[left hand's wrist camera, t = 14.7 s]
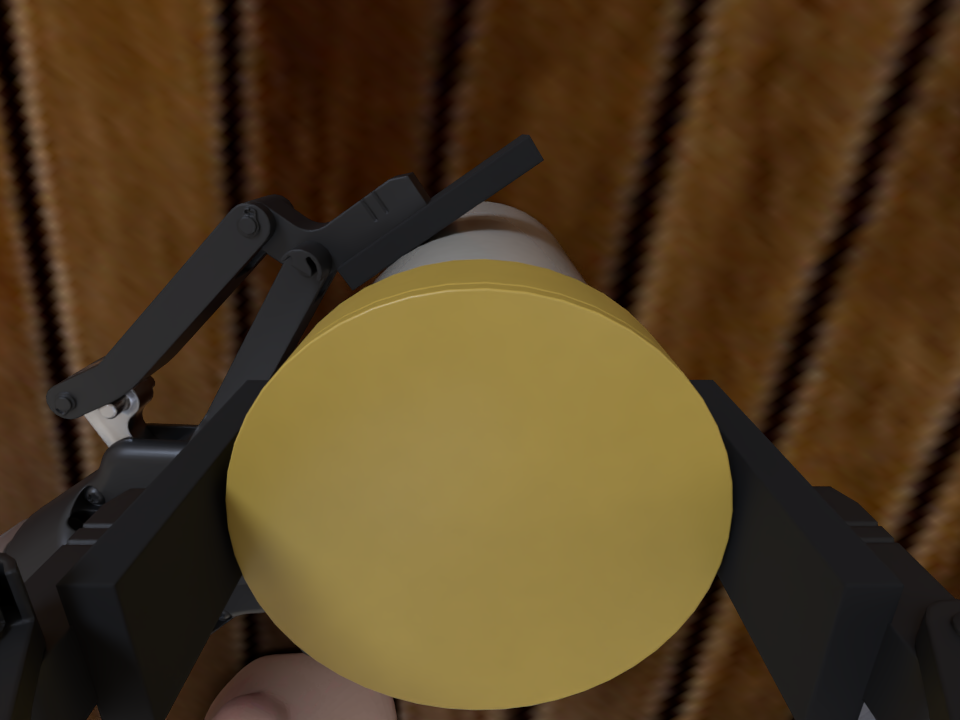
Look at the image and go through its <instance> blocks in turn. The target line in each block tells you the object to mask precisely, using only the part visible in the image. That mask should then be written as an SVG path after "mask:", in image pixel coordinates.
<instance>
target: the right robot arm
mask: <svg viewBox="0 0 960 720" xmlns="http://www.w3.org/2000/svg"><path fill="white" fill-rule="evenodd" d="M543 160H544V159H543V158H542V156H541V154H540V153H539V151H538V149H537V148H536V146H535V144H534V142H533V141H532V139H531V137H530V136H529V135H521V136H519V137H518V138H517V139H515V140H514V141H512V142H511V143H509V144H508V145H506V146H505V147H504V148H502V149H501V150H499V151H498V152H496V153H495V154H494V155H492V156H491V157H489V158H488V159H486V160H485V161H484V162H482V163H481V164H479V165H478V166H476V167H475V168H474V169H472V170H471V171H469V172H468V173H466V174H465V175H464V176H462V177H461V178H459V179H458V180H456V181H455V182H454V183H452V184H451V185H449V186H448V187H446V188H445V189H444V190H442V191H441V192H439V193H438V194H436V195H435V196H434V197H432V198H430V197H429V195H428V194H427V192H426V191H425V189H424V188H423V186H422V185H421V183H420V182H419V180H418V179H417V177H416V176H415V175H414V173H413V172H412V173H407V174H402V175H398V176H395V177H393V178H391V179H389V180H388V181H386V182H385V183H384V184H382V185H381V186H379V187H378V188H377V189H375V190H374V191H373V192H371V193H370V194H368V195H367V196H366V197H364V198H363V199H361V200H360V201H359V202H357V203H356V204H354V205H353V206H352V207H350V208H349V209H348V210H346V211H345V212H343V213H342V214H341V215H339V216H338V217H336V218H335V219H334V220H332V221H331V222H327V223H318V222H314V221H312V220H310V219H308V218H306V217H305V216H303V215H302V214H300V213H299V212H298V211H296V210H295V209H294V207H293V205H292V204H291V203H290V201H289V200H287V199H286V198H284V197H283V196H280V195H275V194H274V195H268V196H265V197H261V198H258V199H255V200H251V201H248V202H245V203H242V204H239V205H237V206H236V207H234V208H233V209H232V210H231V211H230V212H229V213H228V214H227V215H226V217H225V218H224V219H223V220H222V221H221V222H220V224H219V225H218V226H217V227H216V228H215V229H214V231H213V232H212V233H211V234H210V235H209V236H208V238H207V239H206V240H205V241H204V242H203V243H202V245H201V246H200V247H199V248H198V249H197V250H196V252H195V253H194V254H193V255H192V256H191V257H190V258H189V260H188V261H187V262H186V263H185V264H184V265H183V267H182V268H181V269H180V270H179V271H178V272H177V274H176V275H175V276H174V277H173V278H172V279H171V281H170V282H169V283H168V284H167V285H166V286H165V288H164V289H163V290H162V291H161V292H160V293H159V295H158V296H157V297H156V298H155V299H154V300H153V302H152V303H151V304H150V305H149V306H148V307H147V309H146V310H145V311H144V312H143V313H142V314H141V316H140V317H139V318H138V319H137V320H136V321H135V323H134V324H133V325H132V326H131V327H130V328H129V330H128V331H127V332H126V333H125V334H124V335H123V337H122V338H121V339H120V340H119V341H118V342H117V344H116V345H115V346H114V347H113V348H112V349H111V350H110V352H109V353H108V354H107V355H106V356H104V357H102V358H100V359H98V360H97V361H95V362H93V363H92V364H90V365H88V366H87V367H85V368H83V369H82V370H80V371H78V372H77V373H75V374H73V375H72V376H70V377H69V378H67V379H65V380H63V381H62V382H60V383H58V384H57V385H55V386H53V387H52V388H51V389H50V390H48V393H47V395H46V399H47V404H48V405H49V407H50V409H51V410H52V411H53V412H54V413H55V414H56V415H58V416H60V417H63V418H67V419H74V418H78V417H81V416H83V415H84V416H85V417H86V419H87V420H88V421H89V423H90V424H91V425H92V426H93V428H94V429H95V430H96V432H97V433H98V434H99V435H100V437H101V438H102V439H103V441H104V442H105V443H106V444H107V446H108V447H109V448H108V449H107V450H106V452H105V453H104V455H103V458H102V461H101V465H100V467H99V469H98V470H96V471H95V472H93V473H92V474H90V475H89V476H88V477H86V478H85V479H83V480H82V481H80V482H79V483H77V484H76V485H74V486H73V487H71V488H70V489H68V490H67V491H65V492H64V493H62V494H61V495H60V496H58V497H57V498H55V499H54V500H52V501H51V502H49V503H48V504H46V505H45V506H43V507H42V508H40V509H39V510H38V511H36V512H35V513H34V514H32V515H31V516H30V517H29V518H28V519H26V520H23V521H21V522H20V523H18V524H17V525H15V526H14V527H12V528H11V529H9V530H8V531H7V532H5V533H4V534H2V535H1V536H0V553H6V554H8V555H9V556H11V557H13V558H14V559H15V560H16V562H17V565H18V568H19V570H20V573H21V576H22V579H23V581H24V582H25V581H26V580H28V579H29V578H30V577H31V576H32V575H33V574H34V573H35V572H36V571H37V570H38V569H39V568H40V567H41V566H42V565H43V564H44V563H45V562H46V561H47V560H48V559H49V558H50V557H51V556H52V555H53V554H54V553H55V552H56V551H57V550H58V549H59V548H60V547H61V546H62V545H66V544H67V540H68V539H69V538H70V537H71V536H72V535H73V534H74V533H75V532H76V531H77V530H78V529H79V528H83V524H84V523H85V522H86V521H87V520H88V519H89V518H90V517H91V516H92V515H93V514H94V513H95V512H96V511H97V510H98V509H99V508H100V507H101V506H102V505H103V504H105V503H107V502H108V501H110V500H112V499H113V498H115V497H117V496H118V495H120V494H122V493H123V492H125V491H127V490H129V489H130V488H147V487H148V486H149V485H150V484H151V482H152V481H153V480H154V479H155V478H156V477H157V476H158V475H159V474H160V473H161V472H162V471H163V470H164V469H165V468H166V466H167V465H168V464H169V463H170V462H171V461H172V460H173V459H174V458H175V457H176V456H177V455H178V454H179V453H180V451H181V450H182V449H183V448H184V447H185V446H186V445H187V444H188V443H189V442H190V441H191V440H192V439H193V438H194V436H195V435H196V434H197V433H198V432H199V431H200V430H201V429H202V428H203V427H204V426H205V425H206V424H207V423H208V421H209V420H210V419H211V418H212V417H213V416H214V415H215V414H216V413H217V412H218V411H219V410H220V409H221V408H222V406H223V405H224V404H225V403H226V402H227V401H228V400H229V399H230V398H231V397H232V396H233V395H234V394H235V393H236V391H237V390H238V389H239V388H240V387H241V386H242V385H243V384H244V383H245V382H246V381H247V380H270V379H271V378H272V377H273V376H274V374H275V373H276V372H277V371H278V370H279V368H280V367H281V366H282V365H283V364H284V363H285V361H286V360H287V359H288V358H289V357H290V355H291V354H292V353H293V351H294V349H295V347H296V345H297V344H298V342H299V340H300V338H301V336H302V335H303V333H304V331H305V329H306V327H307V325H308V324H309V322H310V320H311V318H312V316H313V315H314V313H315V311H316V309H317V307H318V305H319V304H320V302H321V300H322V298H323V296H324V295H325V293H326V291H327V289H328V287H329V285H330V284H331V282H332V280H333V278H334V276H335V275H336V273H337V271H338V272H339V273H340V274H341V276H342V277H343V278H344V280H345V281H346V282H347V283H348V285H349V286H350V287H351V289H352V290H354V289H356V288H357V287H359V286H360V285H361V284H363V283H364V282H366V281H367V280H369V279H370V278H372V277H373V276H375V275H376V274H378V273H379V272H381V271H382V270H383V269H385V268H386V267H388V266H389V265H391V264H392V263H394V262H395V261H397V260H398V259H399V258H401V257H402V256H404V255H405V254H407V253H408V252H410V251H411V250H413V249H414V248H416V247H417V246H419V245H420V244H422V243H423V242H425V241H426V240H427V239H429V238H430V237H432V236H433V235H435V234H436V233H438V232H439V231H441V230H442V229H444V228H445V227H447V226H448V225H449V224H451V223H452V222H454V221H455V220H457V219H458V218H460V217H461V216H463V215H464V214H466V213H467V212H469V211H470V210H471V209H473V208H474V207H476V206H477V205H479V204H480V203H482V202H483V201H485V200H486V199H488V198H489V197H490V196H492V195H493V194H495V193H496V192H498V191H499V190H501V189H502V188H504V187H505V186H507V185H508V184H510V183H511V182H512V181H514V180H515V179H517V178H518V177H520V176H521V175H523V174H524V173H526V172H527V171H529V170H530V169H532V168H533V167H534V166H536V165H537V164H539V163H540V162H542V161H543ZM267 254H268V255H270V256H271V257H273V258H274V259H276V260H277V261H279V262H280V263H282V264H283V266H282V268H281V270H280V272H279V273H278V275H277V277H276V279H275V281H274V283H273V285H272V287H271V289H270V291H269V293H268V295H267V297H266V299H265V301H264V303H263V305H262V307H261V309H260V311H259V312H258V314H257V316H256V318H255V320H254V322H253V324H252V326H251V328H250V330H249V332H248V334H247V336H246V338H245V340H244V342H243V344H242V346H241V348H240V350H239V352H238V353H237V355H236V357H235V359H234V361H233V363H232V365H231V367H230V369H229V371H228V373H227V375H226V377H225V379H224V381H223V383H222V385H221V387H220V389H219V391H218V392H217V394H216V396H215V398H214V400H213V402H212V404H211V406H210V408H209V410H208V412H207V414H206V415H205V417H204V418H203V420H202V421H201V423H200V424H199V425H185V424H158V423H147V424H146V423H145V422H144V420H143V416H142V411H143V408H144V407H145V406H146V405H147V404H148V403H149V402H150V401H151V400H152V398H153V387H154V386H155V381H154V379H153V378H152V377H151V376H150V375H152V374H153V373H154V372H156V371H157V370H158V369H160V368H161V367H162V366H164V365H165V364H166V363H168V362H169V361H170V360H171V359H172V358H173V357H174V356H175V355H176V354H177V353H178V352H179V351H180V350H181V349H182V348H183V346H184V345H185V344H186V343H187V342H188V341H189V340H190V339H191V338H192V336H193V335H194V334H195V333H196V332H197V331H198V330H199V329H200V328H201V327H202V325H203V324H204V323H205V322H206V321H207V320H208V319H209V318H210V317H211V315H212V314H213V313H214V312H215V311H216V310H217V309H218V308H219V307H220V306H221V304H222V303H223V302H224V301H225V300H226V299H227V298H228V297H229V296H230V295H231V293H232V292H233V291H234V290H235V289H236V288H237V287H238V286H239V285H240V283H241V282H242V281H243V280H244V279H245V278H246V277H247V276H248V275H249V274H250V272H251V271H252V270H253V269H254V268H255V267H256V266H257V265H258V264H259V263H260V261H261V260H262V259H263V258H264V257H265V256H266V255H267ZM263 612H265V611H264V610H263V608H262V607H261V606H260V604H259V603H258V602H257V600H256V598H255V596H254V595H253V593H252V591H251V590H250V588H249V586H248V584H247V583H246V581H245V579H244V577H243V575H242V576H241V578H240V580H239V582H238V584H237V586H236V588H235V590H234V591H233V593H232V595H231V597H230V599H229V601H228V603H227V604H226V606H225V608H224V610H223V612H222V614H221V616H220V618H219V619H218V621H217V623H216V625H215V627H214V629H213V631H212V633H214V632H215V631H216V630H218V629H219V628H220V627H222V626H223V625H224V624H225V623H227V622H228V621H229V620H231V619H232V618H234V617H236V616H239V615H243V614H250V613H263ZM212 633H211V634H212ZM211 634H210V635H211ZM300 649H301V648H300ZM301 651H302V652H303V653H304V654H306V655H308V654H307V653H306V652H304V651H303V650H302V649H301ZM308 656H310V655H308ZM310 657H311V656H310Z"/></svg>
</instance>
